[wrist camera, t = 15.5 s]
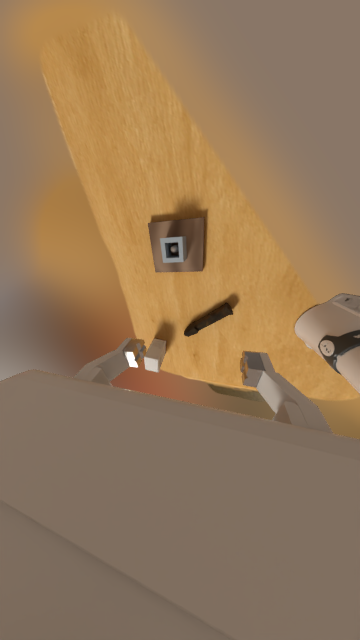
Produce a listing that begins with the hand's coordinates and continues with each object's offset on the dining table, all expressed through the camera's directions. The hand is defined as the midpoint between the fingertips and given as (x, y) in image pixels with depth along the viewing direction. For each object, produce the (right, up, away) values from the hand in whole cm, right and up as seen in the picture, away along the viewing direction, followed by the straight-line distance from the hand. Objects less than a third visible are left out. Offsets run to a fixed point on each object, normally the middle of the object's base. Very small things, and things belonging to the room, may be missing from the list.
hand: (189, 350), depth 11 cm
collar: (-2, +22, +24) cm, 32 cm away
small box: (-10, -9, +48) cm, 50 cm away
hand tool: (+9, +3, +36) cm, 37 cm away
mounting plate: (-1, +22, +25) cm, 34 cm away
